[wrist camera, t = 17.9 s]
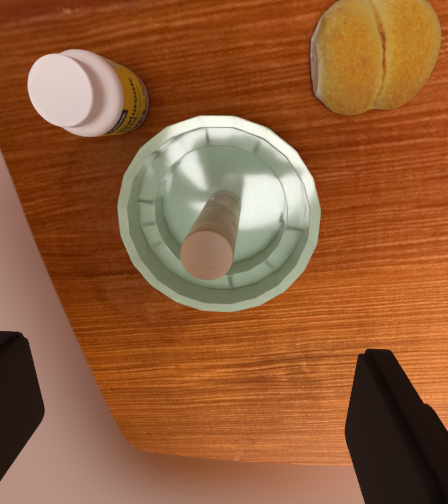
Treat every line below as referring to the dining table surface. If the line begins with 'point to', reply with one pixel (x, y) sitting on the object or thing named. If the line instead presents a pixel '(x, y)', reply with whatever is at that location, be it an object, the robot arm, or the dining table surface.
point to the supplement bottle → (87, 93)
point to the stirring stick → (212, 237)
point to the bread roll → (373, 53)
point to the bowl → (197, 194)
